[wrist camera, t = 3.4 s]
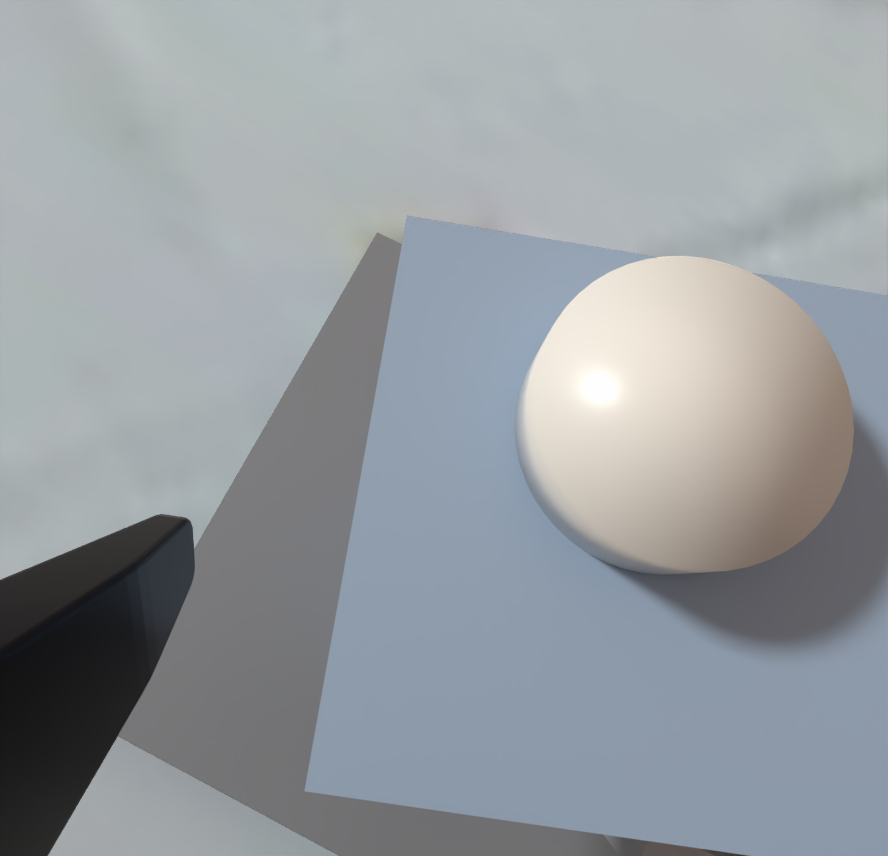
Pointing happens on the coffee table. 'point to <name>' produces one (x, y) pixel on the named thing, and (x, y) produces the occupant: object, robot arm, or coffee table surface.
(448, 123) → the coffee table surface
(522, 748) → the block
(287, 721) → the plate
